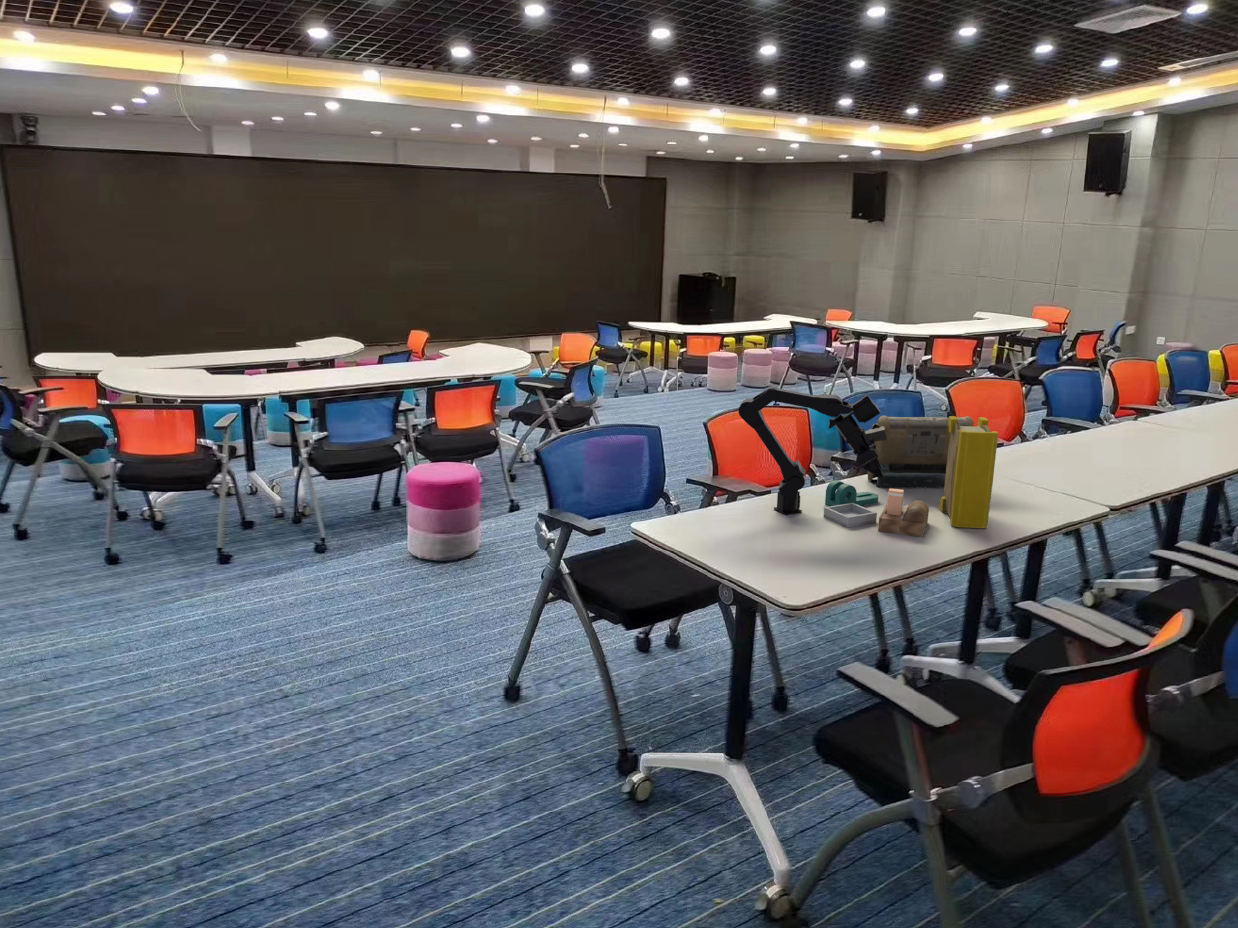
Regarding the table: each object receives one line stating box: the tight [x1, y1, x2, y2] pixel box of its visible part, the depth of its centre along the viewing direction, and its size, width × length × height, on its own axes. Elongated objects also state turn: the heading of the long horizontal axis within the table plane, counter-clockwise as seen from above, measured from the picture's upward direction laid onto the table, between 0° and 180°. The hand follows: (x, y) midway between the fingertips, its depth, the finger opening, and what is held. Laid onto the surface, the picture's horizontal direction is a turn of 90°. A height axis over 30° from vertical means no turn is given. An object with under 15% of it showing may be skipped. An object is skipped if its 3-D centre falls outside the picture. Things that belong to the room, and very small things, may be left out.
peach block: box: [886, 487, 905, 516], centre depth 251 cm, size 4×2×11 cm, turn 65°
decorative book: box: [939, 415, 999, 529], centre depth 255 cm, size 20×11×30 cm, turn 169°
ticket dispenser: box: [877, 500, 930, 538], centre depth 250 cm, size 12×14×7 cm
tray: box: [823, 503, 878, 528], centre depth 257 cm, size 11×11×3 cm
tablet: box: [867, 415, 975, 489], centre depth 292 cm, size 33×14×25 cm, turn 94°
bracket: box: [824, 479, 879, 507], centre depth 272 cm, size 18×7×8 cm, turn 117°
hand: (880, 473), depth 256 cm, fingers open, 9 cm apart
